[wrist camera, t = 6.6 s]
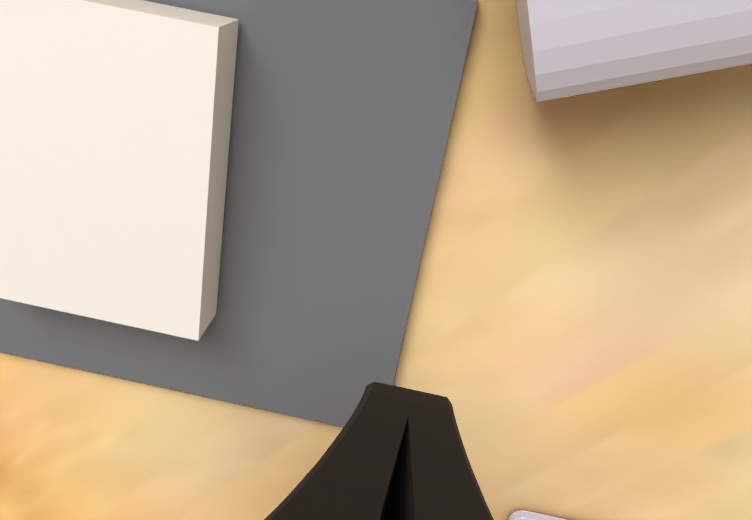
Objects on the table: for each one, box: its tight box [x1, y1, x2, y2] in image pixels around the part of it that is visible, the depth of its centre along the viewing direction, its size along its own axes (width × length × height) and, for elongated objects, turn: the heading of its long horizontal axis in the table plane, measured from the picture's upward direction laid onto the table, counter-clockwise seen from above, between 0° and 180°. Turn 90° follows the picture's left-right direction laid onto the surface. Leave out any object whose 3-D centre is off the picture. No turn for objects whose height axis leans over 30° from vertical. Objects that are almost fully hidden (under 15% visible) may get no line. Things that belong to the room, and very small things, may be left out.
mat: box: [0, 0, 478, 427], centre depth 21 cm, size 14×14×1 cm
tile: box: [0, 0, 239, 341], centre depth 19 cm, size 9×2×7 cm
